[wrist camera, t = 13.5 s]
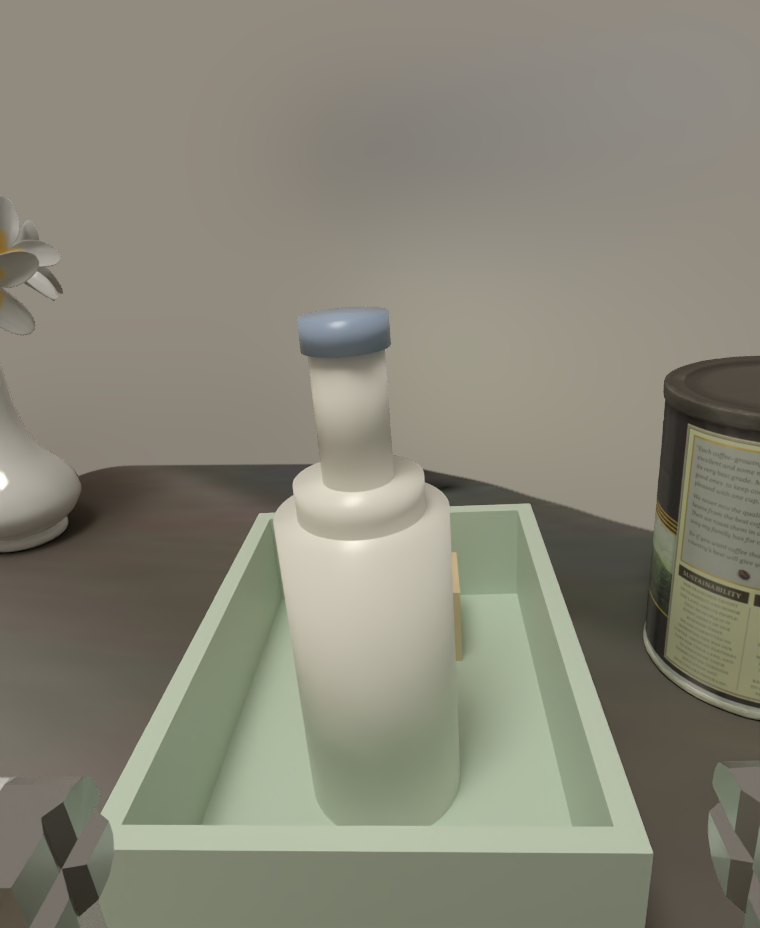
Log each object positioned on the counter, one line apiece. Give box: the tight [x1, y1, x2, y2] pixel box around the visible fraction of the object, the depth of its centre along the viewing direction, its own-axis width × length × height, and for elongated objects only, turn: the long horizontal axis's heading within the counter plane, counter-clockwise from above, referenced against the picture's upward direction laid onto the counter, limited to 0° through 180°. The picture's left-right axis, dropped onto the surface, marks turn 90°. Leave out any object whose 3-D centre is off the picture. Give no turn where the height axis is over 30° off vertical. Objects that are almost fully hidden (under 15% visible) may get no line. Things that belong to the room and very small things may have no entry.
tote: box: [98, 504, 653, 928], centre depth 29 cm, size 16×22×6 cm
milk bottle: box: [273, 307, 460, 826], centre depth 24 cm, size 6×6×19 cm
